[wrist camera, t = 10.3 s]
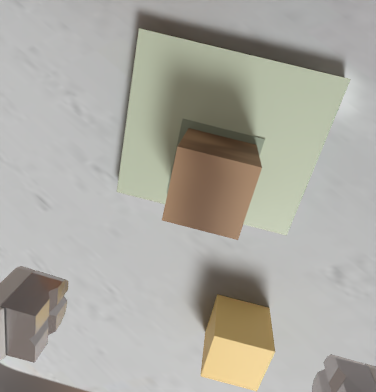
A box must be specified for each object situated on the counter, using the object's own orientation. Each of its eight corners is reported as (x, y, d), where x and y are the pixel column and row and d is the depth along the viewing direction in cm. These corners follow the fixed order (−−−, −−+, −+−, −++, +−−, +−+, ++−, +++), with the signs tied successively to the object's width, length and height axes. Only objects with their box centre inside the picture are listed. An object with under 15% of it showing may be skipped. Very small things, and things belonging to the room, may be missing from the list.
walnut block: (256, 144, 23) (262, 167, 19) (237, 205, 25) (237, 239, 21) (188, 127, 23) (177, 146, 19) (174, 190, 25) (161, 220, 21)
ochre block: (269, 307, 31) (275, 351, 26) (253, 344, 33) (256, 391, 28) (217, 293, 31) (214, 335, 26) (205, 331, 33) (200, 376, 28)
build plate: (344, 77, 22) (351, 79, 21) (284, 228, 27) (286, 236, 26) (143, 29, 22) (138, 28, 21) (121, 186, 27) (116, 192, 26)
